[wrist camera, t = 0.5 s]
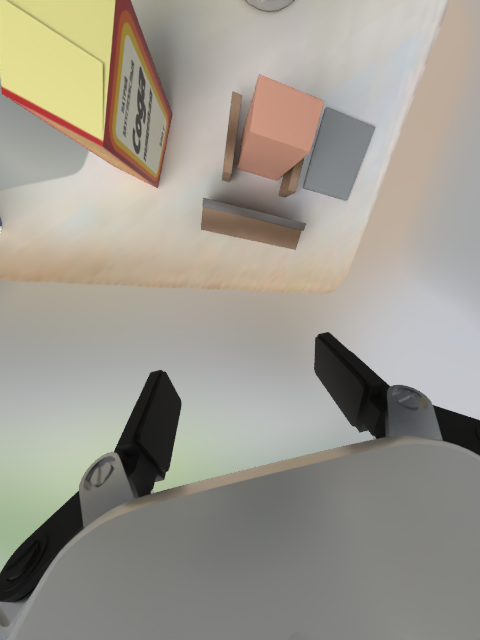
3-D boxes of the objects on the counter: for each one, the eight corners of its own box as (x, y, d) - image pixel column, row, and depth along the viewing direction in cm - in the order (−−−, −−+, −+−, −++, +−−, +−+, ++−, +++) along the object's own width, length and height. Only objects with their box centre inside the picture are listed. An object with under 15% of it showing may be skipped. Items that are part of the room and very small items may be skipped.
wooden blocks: (214, 107, 25) (213, 68, 19) (312, 142, 28) (338, 118, 22) (203, 229, 32) (200, 229, 26) (283, 246, 35) (297, 250, 29)
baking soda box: (122, 82, 23) (-28, -158, 9) (172, 114, 25) (115, -42, 11) (113, 165, 26) (-4, 90, 12) (157, 188, 28) (100, 144, 14)
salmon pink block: (241, 136, 27) (259, 74, 16) (283, 150, 28) (324, 101, 18) (237, 168, 29) (250, 131, 18) (276, 180, 30) (310, 152, 19)
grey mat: (324, 109, 27) (326, 107, 26) (372, 128, 28) (375, 127, 28) (302, 188, 31) (303, 187, 30) (345, 200, 33) (347, 200, 32)
